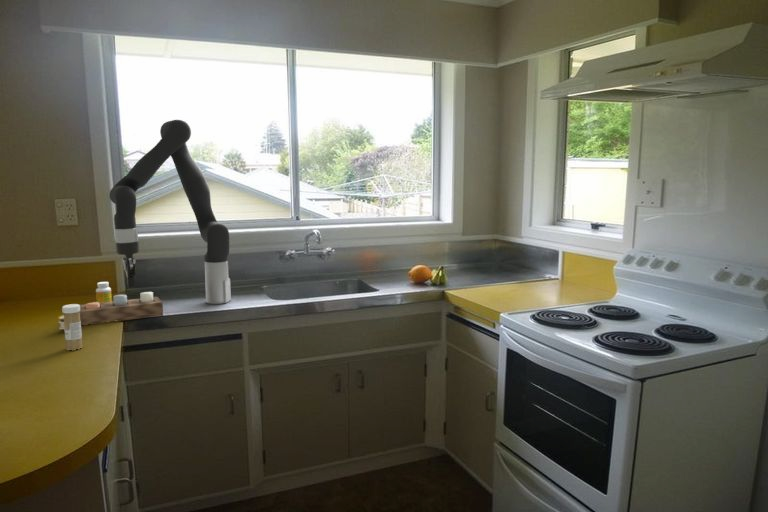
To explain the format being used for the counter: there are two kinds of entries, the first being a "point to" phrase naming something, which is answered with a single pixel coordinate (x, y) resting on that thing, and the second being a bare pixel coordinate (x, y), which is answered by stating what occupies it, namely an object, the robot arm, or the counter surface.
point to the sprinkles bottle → (72, 326)
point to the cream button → (146, 297)
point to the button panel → (121, 311)
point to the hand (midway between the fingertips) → (131, 286)
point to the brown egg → (92, 305)
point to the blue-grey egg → (120, 300)
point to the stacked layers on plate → (61, 322)
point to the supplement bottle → (103, 292)
